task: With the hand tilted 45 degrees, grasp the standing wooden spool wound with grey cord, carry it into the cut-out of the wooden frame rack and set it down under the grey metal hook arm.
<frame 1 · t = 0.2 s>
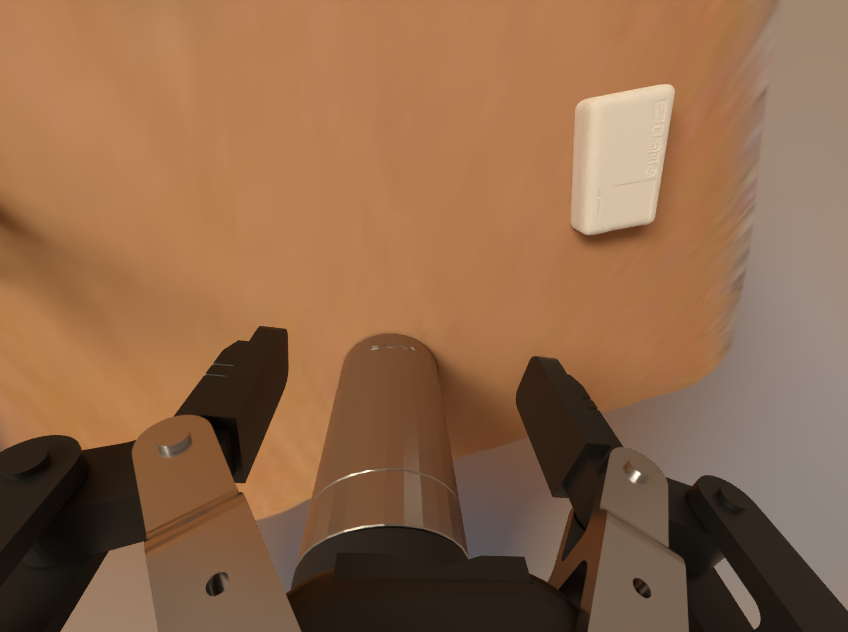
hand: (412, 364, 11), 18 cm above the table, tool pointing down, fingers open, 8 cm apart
soap: (603, 163, 26), on the table
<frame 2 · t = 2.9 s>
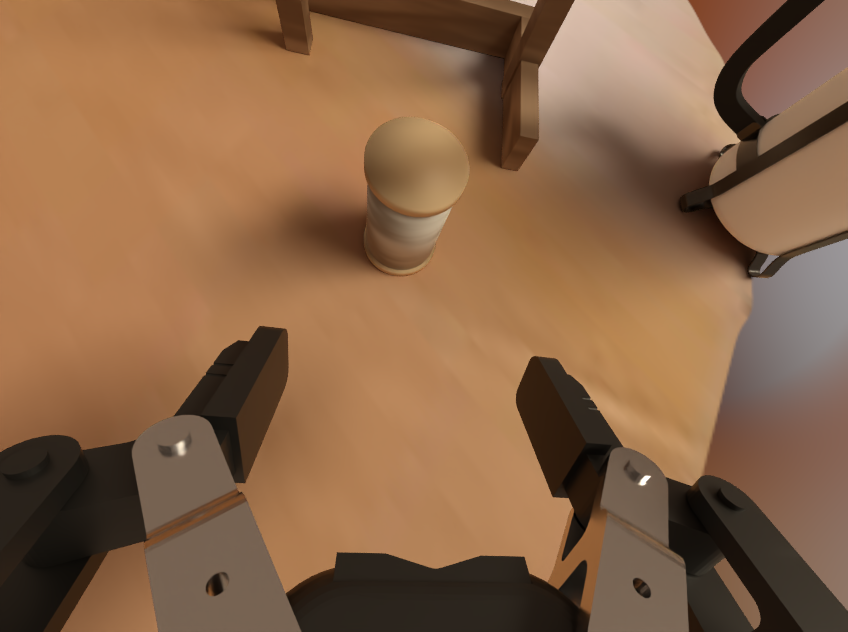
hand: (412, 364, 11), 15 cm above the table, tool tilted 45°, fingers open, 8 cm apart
coffee press: (725, 207, 36), on the table
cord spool: (399, 243, 28), on the table
wooden frame rack: (406, 103, 32), on the table
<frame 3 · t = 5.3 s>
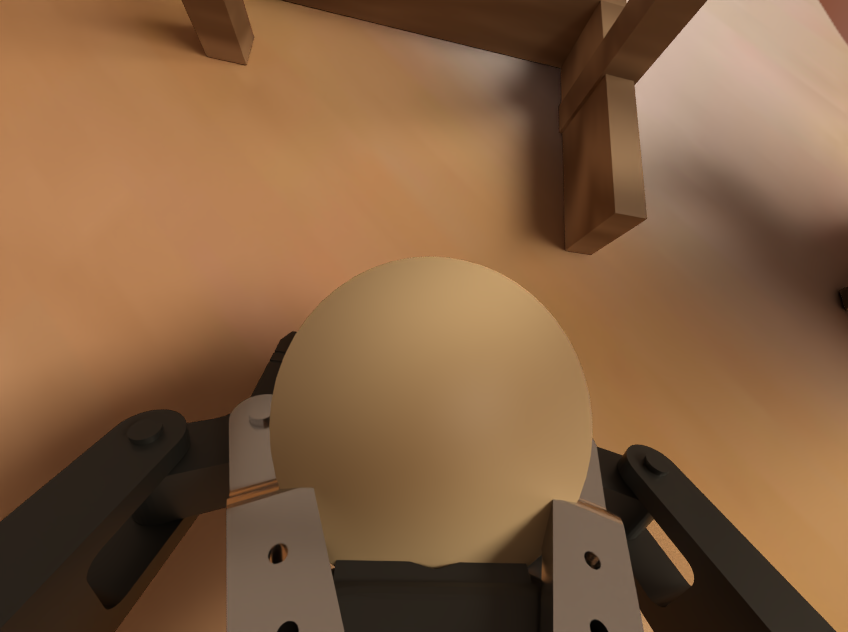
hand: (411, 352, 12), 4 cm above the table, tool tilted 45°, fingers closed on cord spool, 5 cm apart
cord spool: (394, 404, 16), on the table, touching gripper
wooden frame rack: (408, 143, 19), on the table
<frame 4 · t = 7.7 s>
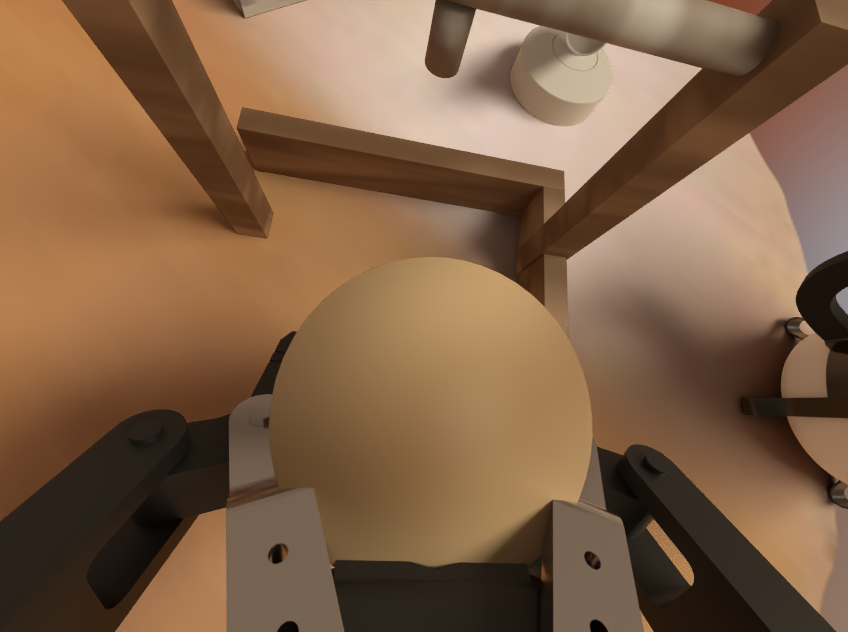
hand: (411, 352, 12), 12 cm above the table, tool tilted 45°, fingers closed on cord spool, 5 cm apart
coffee press: (796, 398, 29), on the table
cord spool: (394, 404, 16), point 7 cm above the table, touching gripper
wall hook: (549, 94, 32), on the table
wooden frame rack: (394, 295, 24), on the table
when the fingers open (6 cm above the table, at t = 10.1 s): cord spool drops 1 cm, on the table.
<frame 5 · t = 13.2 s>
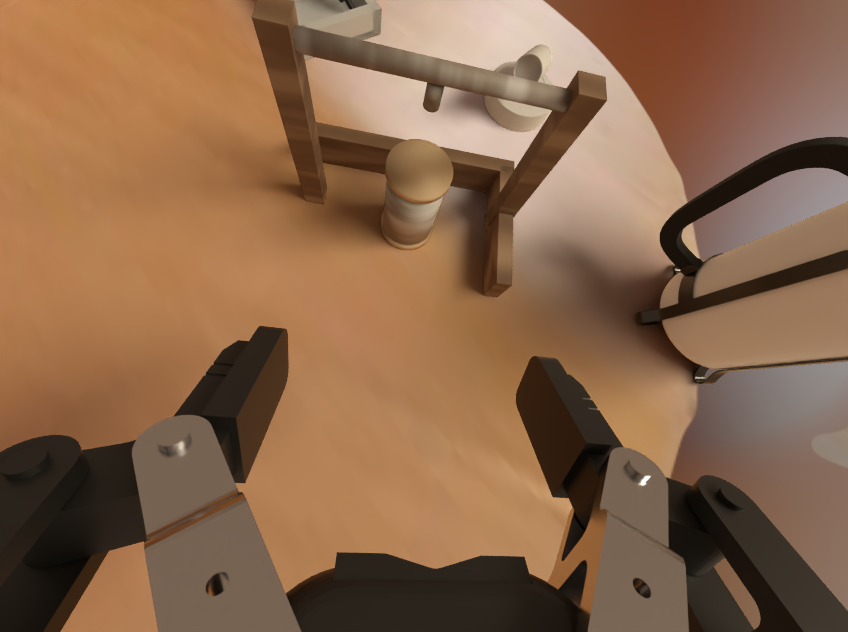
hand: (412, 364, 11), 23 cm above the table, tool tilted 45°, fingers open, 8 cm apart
coffee press: (677, 317, 42), on the table
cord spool: (406, 226, 38), on the table
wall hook: (512, 109, 46), on the table
wooden frame rack: (404, 241, 38), on the table
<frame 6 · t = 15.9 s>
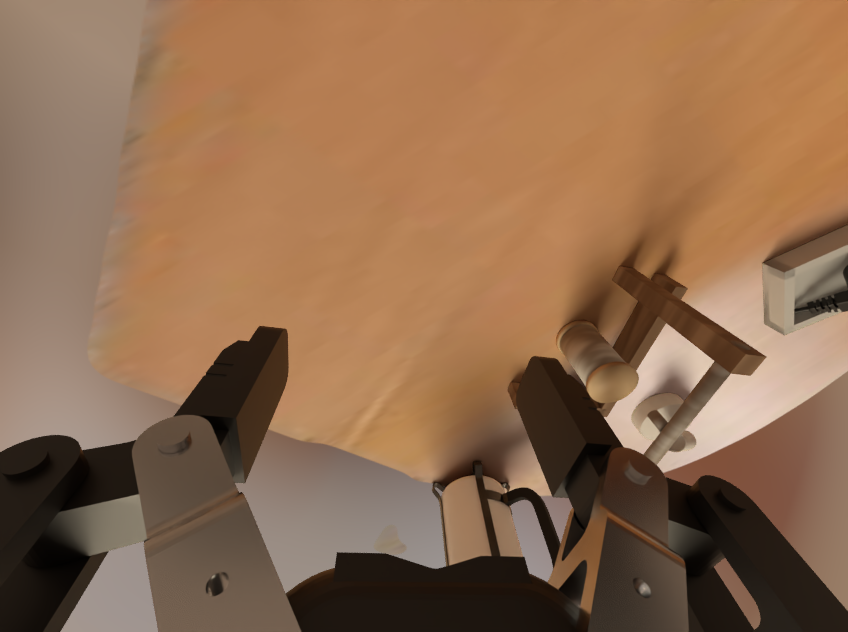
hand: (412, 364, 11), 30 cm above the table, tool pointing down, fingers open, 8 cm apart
coffee press: (474, 479, 65), on the table
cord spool: (576, 337, 49), on the table
power plug: (823, 281, 46), point 1 cm above the table, touching plug tray
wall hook: (653, 409, 58), on the table
wooden frame rack: (564, 335, 49), on the table
plug tray: (832, 265, 45), on the table
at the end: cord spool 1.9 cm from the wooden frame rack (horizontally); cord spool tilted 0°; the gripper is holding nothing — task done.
